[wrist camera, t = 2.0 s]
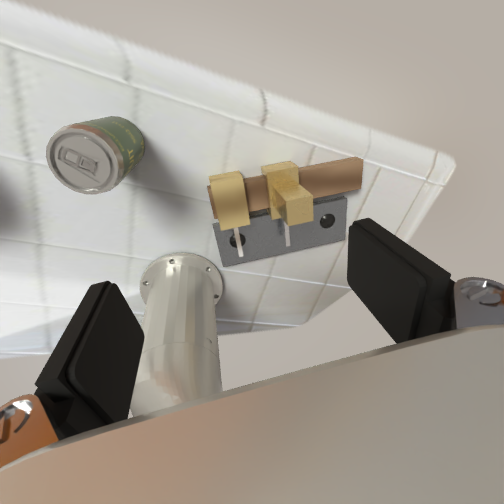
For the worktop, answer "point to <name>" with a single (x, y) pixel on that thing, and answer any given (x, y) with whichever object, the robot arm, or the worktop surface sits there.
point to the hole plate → (272, 233)
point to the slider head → (287, 196)
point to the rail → (256, 197)
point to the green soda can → (95, 154)
